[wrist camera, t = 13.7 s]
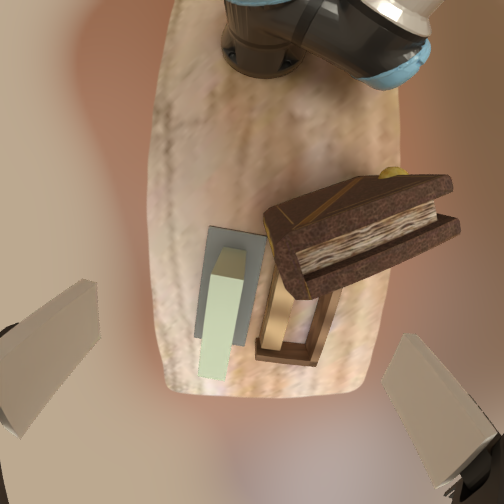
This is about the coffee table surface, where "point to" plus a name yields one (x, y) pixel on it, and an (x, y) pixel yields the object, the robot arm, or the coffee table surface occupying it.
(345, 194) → the book
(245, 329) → the mat
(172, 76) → the coffee table surface
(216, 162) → the coffee table surface
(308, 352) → the frame
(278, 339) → the brown wooden bar
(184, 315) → the coffee table surface
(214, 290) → the pale green slab
